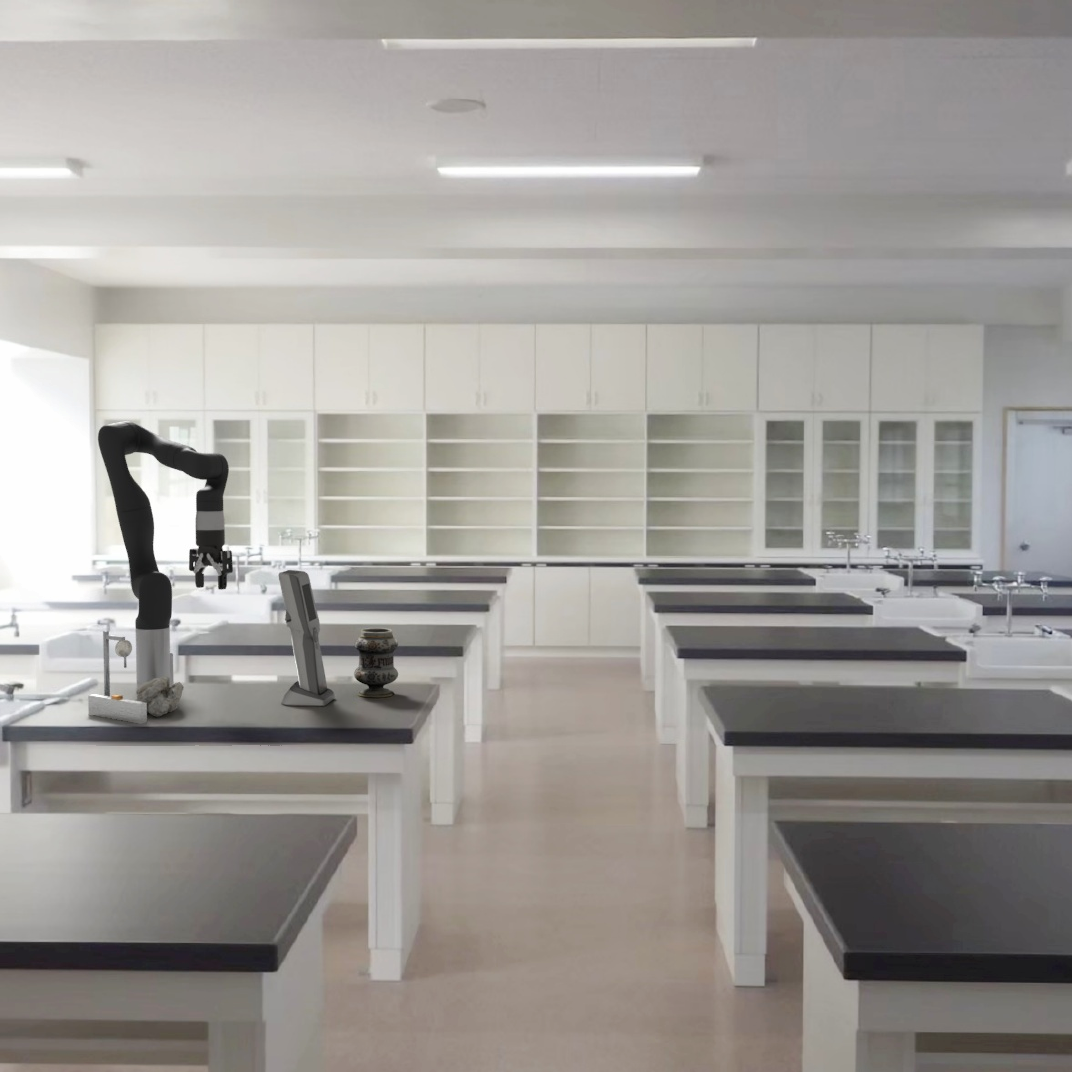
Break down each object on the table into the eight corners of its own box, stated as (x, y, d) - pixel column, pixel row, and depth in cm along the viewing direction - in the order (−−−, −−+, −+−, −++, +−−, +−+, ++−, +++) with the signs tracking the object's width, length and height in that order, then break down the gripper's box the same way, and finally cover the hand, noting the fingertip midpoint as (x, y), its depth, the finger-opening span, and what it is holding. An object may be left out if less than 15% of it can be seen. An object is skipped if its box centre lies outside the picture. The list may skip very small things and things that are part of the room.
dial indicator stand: (109, 701, 338) (107, 628, 337) (136, 705, 332) (134, 632, 331) (90, 704, 333) (88, 631, 332) (117, 709, 327) (115, 634, 326)
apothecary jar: (395, 698, 342) (394, 632, 341) (350, 698, 343) (350, 632, 342) (400, 690, 355) (400, 626, 353) (358, 690, 355) (357, 626, 354)
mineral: (193, 695, 334) (174, 663, 333) (189, 705, 317) (168, 670, 316) (151, 720, 332) (131, 687, 331) (144, 730, 315) (124, 696, 314)
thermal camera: (290, 697, 344) (288, 569, 342) (336, 698, 343) (335, 569, 341) (277, 705, 333) (275, 573, 331) (325, 706, 332) (323, 573, 329)
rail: (94, 713, 323) (94, 690, 322) (147, 722, 312) (146, 699, 311) (88, 714, 321) (88, 692, 321) (140, 724, 310) (140, 700, 310)
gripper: (239, 528, 337) (240, 588, 338) (202, 526, 345) (203, 585, 346) (218, 529, 331) (218, 591, 332) (180, 527, 339) (181, 588, 340)
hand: (210, 588), depth 339 cm, fingers open, 8 cm apart
